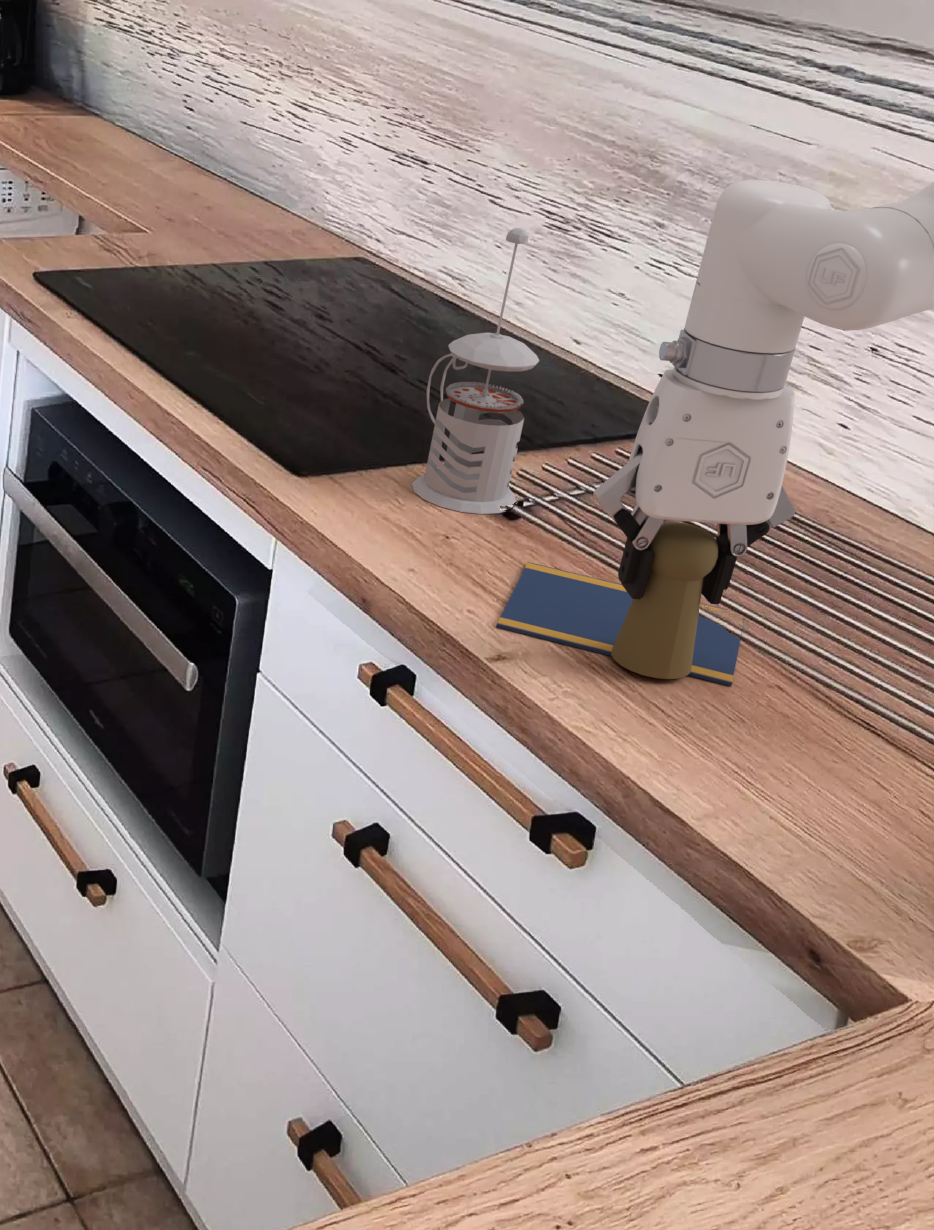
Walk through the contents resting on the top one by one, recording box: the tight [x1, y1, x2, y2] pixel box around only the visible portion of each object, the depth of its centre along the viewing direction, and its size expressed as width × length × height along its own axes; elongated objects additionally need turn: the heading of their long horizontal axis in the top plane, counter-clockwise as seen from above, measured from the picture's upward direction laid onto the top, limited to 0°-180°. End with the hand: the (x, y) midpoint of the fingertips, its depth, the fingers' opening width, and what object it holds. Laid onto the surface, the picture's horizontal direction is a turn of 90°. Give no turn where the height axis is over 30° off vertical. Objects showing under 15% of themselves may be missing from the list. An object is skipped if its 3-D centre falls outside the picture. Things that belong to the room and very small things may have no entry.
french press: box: [411, 227, 540, 515], centre depth 157 cm, size 10×12×25 cm
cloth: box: [495, 561, 741, 687], centre depth 139 cm, size 18×14×1 cm
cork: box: [611, 521, 718, 680], centre depth 130 cm, size 6×6×11 cm
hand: (669, 591), depth 130 cm, fingers closed on cork, 5 cm apart
